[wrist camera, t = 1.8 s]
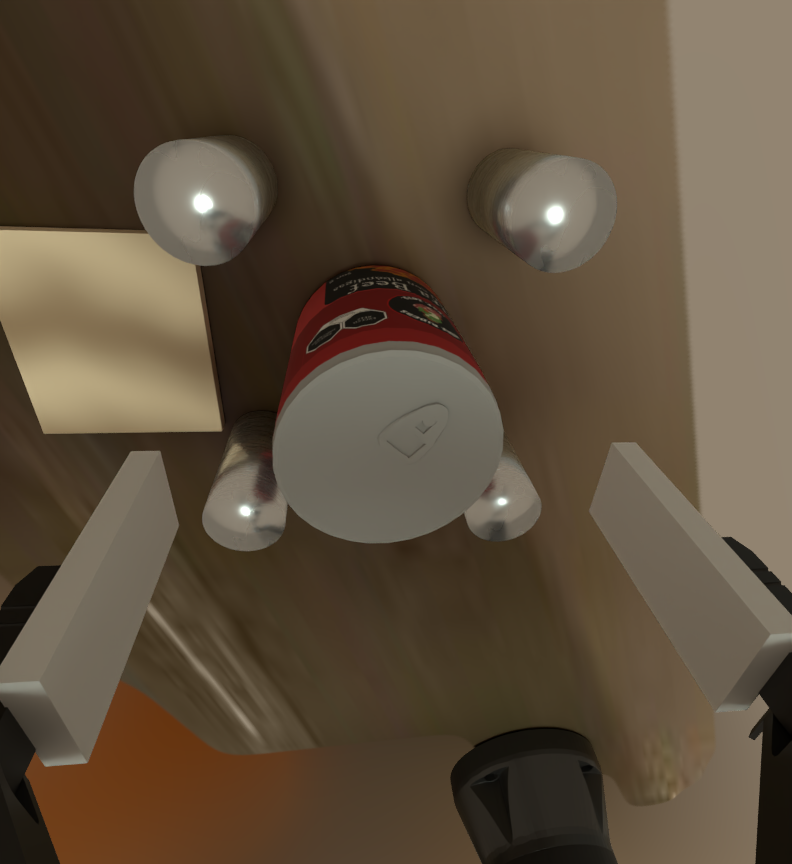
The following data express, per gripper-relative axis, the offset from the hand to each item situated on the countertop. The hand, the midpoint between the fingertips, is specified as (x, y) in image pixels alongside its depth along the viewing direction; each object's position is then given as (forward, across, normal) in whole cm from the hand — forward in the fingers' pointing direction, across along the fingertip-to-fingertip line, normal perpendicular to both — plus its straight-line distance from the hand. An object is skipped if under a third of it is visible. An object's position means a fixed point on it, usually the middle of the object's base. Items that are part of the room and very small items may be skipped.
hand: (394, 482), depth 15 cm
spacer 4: (+13, -6, -6) cm, 15 cm away
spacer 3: (+13, -6, +6) cm, 15 cm away
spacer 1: (+13, +6, -6) cm, 15 cm away
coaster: (+13, +12, 0) cm, 18 cm away
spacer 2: (+13, +6, +6) cm, 15 cm away
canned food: (+13, 0, 0) cm, 13 cm away
